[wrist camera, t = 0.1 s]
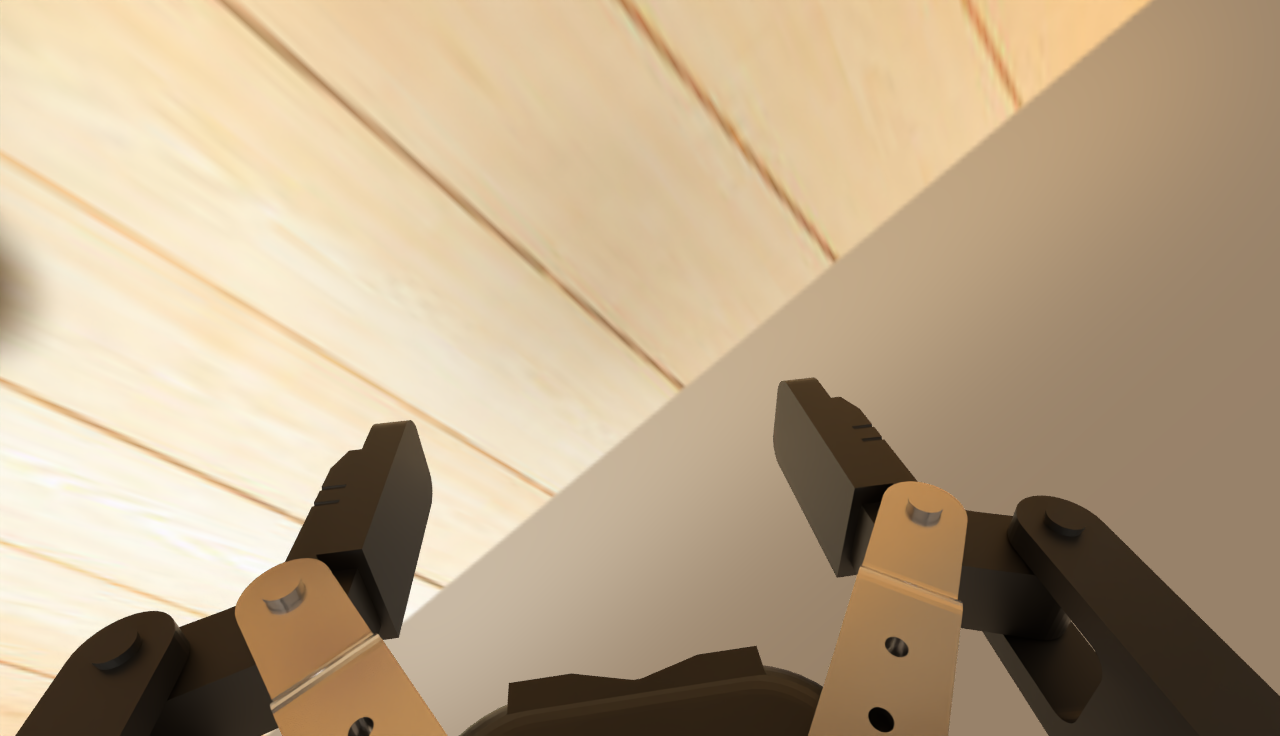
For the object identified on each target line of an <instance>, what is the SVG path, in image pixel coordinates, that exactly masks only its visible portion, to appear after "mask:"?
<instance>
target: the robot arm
mask: <svg viewBox="0 0 1280 736" xmlns="http://www.w3.org/2000/svg"><path fill="white" fill-rule="evenodd" d="M773 442H774V450H775V455H776V459H777V461H778V464H779V466H780V468H781V470H782V471H783V474H784V476H785V477H786V479H787V481H788V483H789V485H790V487H791V489H792V491H793V493H794V495H795V497H796V499H797V501H798V503H799V505H800V507H801V509H802V510H803V513H804V514H805V516H806V518H807V520H808V522H809V524H810V526H811V528H812V530H813V532H814V534H815V536H816V538H817V539H818V542H819V544H820V546H821V547H822V549H823V551H824V553H825V555H826V557H827V559H828V561H829V563H830V565H831V567H832V569H833V571H834V573H835V575H836V577H844V576H851V575H857V578H856V581H855V584H854V587H853V591H852V594H851V597H850V601H849V604H848V607H847V610H846V613H845V617H844V620H843V623H842V627H841V630H840V633H839V636H838V640H837V643H836V646H835V649H834V653H833V656H832V660H831V663H830V666H829V669H828V673H827V676H826V679H825V682H824V686H823V687H822V686H821V685H819V684H818V683H816V682H814V681H812V680H810V679H808V678H806V677H804V676H802V675H799V674H796V673H793V672H790V671H787V670H784V669H779V668H775V667H770V666H763V665H762V662H761V659H760V656H759V653H758V650H757V646H753V647H746V648H739V649H733V650H726V651H720V652H713V653H706V654H699V655H696V656H693V657H691V658H689V659H686V660H684V661H682V662H679V663H677V664H675V665H672V666H670V667H668V668H665V669H663V670H661V671H658V672H656V673H654V674H651V675H649V676H647V677H644V678H642V679H637V680H626V679H617V678H608V677H598V676H589V675H579V674H566V675H560V676H553V677H546V678H540V679H533V680H527V681H520V682H514V683H509V692H508V705H505V706H503V707H501V708H499V709H497V710H495V711H493V712H491V713H489V714H488V715H486V716H484V717H483V718H481V719H480V720H478V721H477V722H476V723H474V724H473V725H471V726H470V727H469V728H468V729H466V730H465V731H464V732H463V733H462V734H461V735H459V736H948V733H949V725H950V715H951V707H952V698H953V690H954V682H955V673H956V664H957V656H958V647H959V638H960V630H961V628H965V629H972V630H978V631H983V633H984V635H985V636H986V638H987V639H988V641H989V643H990V644H991V646H992V647H993V649H994V650H995V652H996V654H997V655H998V657H999V658H1000V660H1001V661H1002V663H1003V665H1004V666H1005V668H1006V669H1007V671H1008V672H1009V674H1010V676H1011V677H1012V679H1013V680H1014V682H1015V683H1016V685H1017V687H1018V688H1019V690H1020V691H1021V693H1022V694H1023V696H1024V697H1025V699H1026V701H1027V702H1028V704H1029V705H1030V707H1031V709H1032V710H1033V712H1034V713H1035V715H1036V716H1037V718H1038V720H1039V721H1040V723H1041V724H1042V726H1043V727H1044V729H1045V731H1046V732H1047V734H1048V735H1049V736H1280V696H1279V695H1278V694H1277V693H1276V692H1275V691H1274V690H1273V689H1272V688H1271V687H1270V686H1269V685H1268V684H1267V683H1266V682H1265V681H1264V680H1263V679H1262V678H1261V677H1260V676H1259V675H1258V674H1257V673H1256V672H1255V671H1253V669H1252V668H1250V666H1249V665H1247V664H1246V663H1245V662H1244V661H1243V660H1242V659H1241V658H1240V657H1239V656H1238V655H1237V654H1236V653H1235V652H1234V651H1233V650H1232V649H1231V648H1230V647H1229V646H1228V645H1227V644H1226V643H1225V642H1224V641H1223V640H1222V639H1221V638H1220V637H1219V636H1218V635H1217V634H1216V633H1215V632H1214V631H1213V630H1212V629H1211V628H1210V627H1209V626H1208V625H1207V624H1206V623H1205V622H1204V621H1203V620H1202V619H1201V618H1200V617H1199V616H1198V615H1197V614H1196V613H1195V612H1194V611H1193V610H1191V608H1190V607H1189V606H1188V605H1187V604H1186V603H1185V602H1184V601H1183V600H1182V599H1181V598H1179V597H1178V595H1176V594H1175V593H1174V592H1173V591H1172V590H1171V589H1170V588H1169V587H1168V586H1167V585H1166V584H1165V583H1164V582H1163V581H1162V580H1161V579H1160V578H1159V577H1158V576H1157V575H1156V574H1155V573H1154V572H1153V571H1152V570H1151V569H1150V568H1149V567H1148V566H1147V565H1146V564H1145V563H1144V562H1143V561H1142V560H1141V559H1140V558H1139V557H1138V556H1137V555H1136V554H1135V553H1134V552H1133V551H1132V550H1131V549H1130V548H1129V547H1128V546H1127V545H1126V544H1125V543H1124V542H1123V541H1122V540H1121V539H1120V538H1119V537H1118V536H1117V535H1115V533H1114V532H1113V531H1111V529H1109V527H1108V526H1107V525H1106V524H1105V523H1104V522H1102V521H1101V520H1100V519H1099V518H1098V517H1097V516H1096V515H1094V514H1093V513H1091V512H1090V511H1088V510H1087V509H1085V508H1083V507H1081V506H1079V505H1077V504H1075V503H1072V502H1070V501H1067V500H1064V499H1060V498H1056V497H1051V496H1032V497H1028V498H1025V499H1023V500H1022V501H1021V502H1019V504H1018V505H1017V507H1016V510H1015V513H1014V516H1007V515H999V514H990V513H981V512H974V511H967V510H965V509H964V507H963V506H962V504H961V503H960V502H959V501H958V500H957V499H956V498H955V497H954V496H952V495H951V494H950V493H948V492H946V491H944V490H943V489H941V488H938V487H936V486H933V485H930V484H926V483H922V482H918V481H917V480H916V479H915V478H914V477H913V475H912V474H911V473H910V471H909V470H908V469H907V468H906V467H905V465H904V464H903V463H902V462H901V460H900V459H899V458H898V456H897V455H896V454H895V453H894V451H893V450H892V449H891V448H890V446H889V445H888V444H887V443H886V441H885V440H882V437H881V435H880V434H879V433H878V431H877V430H876V429H875V428H874V427H872V424H871V423H870V421H869V420H868V419H867V417H866V416H865V415H864V414H863V412H862V411H861V410H860V409H859V408H857V407H856V406H854V405H853V404H851V403H849V402H848V401H846V400H845V399H843V398H842V397H835V398H831V397H830V396H829V395H828V393H827V392H826V391H825V389H824V388H823V387H822V385H821V384H820V383H819V381H818V380H817V379H815V378H806V379H796V380H788V381H781V382H780V384H779V386H778V393H777V403H776V414H775V424H774V435H773ZM431 504H432V481H431V476H430V472H429V469H428V465H427V462H426V459H425V455H424V452H423V449H422V445H421V442H420V439H419V435H418V432H417V429H416V426H415V424H414V423H413V421H411V420H409V421H399V422H390V423H381V424H374V425H373V426H372V428H371V430H370V432H369V434H368V437H367V439H366V441H365V443H364V446H363V448H362V449H360V450H351V451H348V452H347V453H346V454H345V455H344V456H343V457H342V458H341V459H340V460H339V461H338V462H337V463H336V464H335V465H334V466H333V467H332V468H331V469H330V471H329V473H328V475H327V477H326V479H325V481H324V483H323V485H322V491H320V492H319V494H318V496H317V498H316V500H315V502H314V507H312V508H311V510H310V512H309V514H308V516H307V518H306V520H305V522H304V524H303V526H302V528H301V530H300V532H299V534H298V536H297V539H296V541H295V543H294V545H293V547H292V549H291V551H290V553H289V555H288V557H287V559H286V561H285V562H284V563H282V564H279V565H277V566H275V567H273V568H271V569H269V570H268V571H266V572H264V573H263V574H261V575H260V576H259V577H257V578H256V579H255V580H254V581H253V582H252V583H251V584H249V586H248V587H247V588H246V589H245V590H244V591H243V593H242V594H241V596H240V598H239V600H238V602H237V604H236V606H234V607H232V608H229V609H227V610H224V611H222V612H219V613H216V614H214V615H211V616H208V617H206V618H203V619H200V620H197V621H195V622H192V623H189V624H187V625H184V626H181V627H178V625H177V624H176V623H175V621H174V620H173V618H172V617H171V616H170V615H168V614H166V613H164V612H160V611H148V612H141V613H137V614H134V615H131V616H128V617H125V618H123V619H120V620H118V621H116V622H114V623H112V624H110V625H108V626H106V627H105V628H103V629H102V630H100V631H99V632H97V633H96V634H94V635H93V636H92V637H90V638H89V639H88V640H86V641H85V642H84V643H83V644H82V645H81V646H80V647H79V648H78V649H77V650H76V651H75V652H74V653H73V654H72V655H71V656H70V658H69V659H68V660H67V662H66V663H65V664H64V666H63V667H62V669H61V670H60V672H59V673H58V675H57V676H56V678H55V679H54V680H53V682H52V683H51V685H50V686H49V688H48V689H47V691H46V692H45V693H44V695H43V696H42V698H41V699H40V701H39V702H38V704H37V705H36V706H35V708H34V709H33V711H32V712H31V714H30V715H29V717H28V718H27V720H26V721H25V722H24V724H23V725H22V727H21V728H20V730H19V731H18V733H17V734H16V735H15V736H261V735H263V734H266V733H268V732H270V731H272V730H275V729H277V728H279V729H280V732H281V734H282V736H447V734H446V733H445V731H444V730H443V728H442V727H441V725H440V724H439V722H438V721H437V719H436V718H435V717H434V715H433V713H432V712H431V711H430V709H429V708H428V706H427V705H426V703H425V702H424V700H423V699H422V697H421V696H420V694H419V693H418V691H417V690H416V688H415V687H414V685H413V684H412V683H411V681H410V680H409V678H408V677H407V675H406V674H405V672H404V671H403V669H402V668H401V666H400V665H399V663H398V662H397V660H396V659H395V657H394V656H393V655H392V653H391V652H390V650H389V649H388V647H387V646H386V644H385V643H384V641H383V640H386V639H392V638H399V634H400V630H401V626H402V622H403V618H404V614H405V610H406V606H407V602H408V598H409V594H410V590H411V585H412V581H413V577H414V573H415V569H416V565H417V561H418V557H419V553H420V549H421V545H422V541H423V537H424V533H425V528H426V524H427V520H428V516H429V512H430V508H431ZM1071 620H1072V622H1073V623H1074V624H1075V625H1076V627H1077V628H1078V629H1079V631H1080V632H1081V633H1082V634H1083V636H1084V637H1085V638H1086V639H1087V641H1088V642H1089V643H1090V644H1091V646H1092V647H1093V648H1094V650H1095V651H1094V650H1093V648H1092V647H1091V646H1090V645H1089V643H1088V642H1087V641H1086V640H1085V638H1084V637H1083V636H1082V635H1081V633H1080V632H1079V631H1078V630H1077V628H1076V627H1075V626H1074V624H1073V623H1072V622H1071Z"/></svg>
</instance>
